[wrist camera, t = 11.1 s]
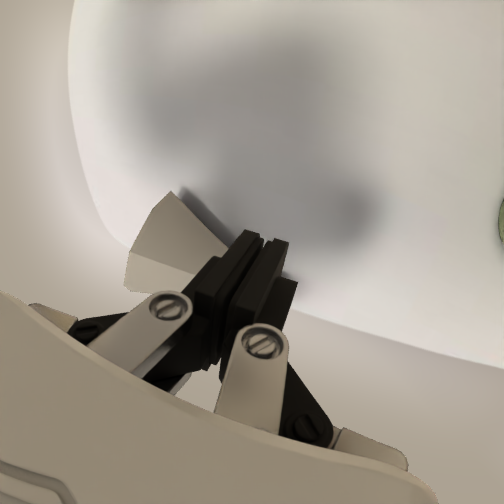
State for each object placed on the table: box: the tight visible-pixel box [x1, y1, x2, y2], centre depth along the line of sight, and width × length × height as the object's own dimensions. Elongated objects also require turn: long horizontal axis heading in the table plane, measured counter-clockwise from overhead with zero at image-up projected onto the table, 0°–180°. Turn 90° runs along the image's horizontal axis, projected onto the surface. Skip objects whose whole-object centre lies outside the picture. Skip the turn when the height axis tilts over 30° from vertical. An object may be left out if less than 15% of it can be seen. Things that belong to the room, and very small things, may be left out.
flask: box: [124, 191, 229, 294], centre depth 19 cm, size 7×7×10 cm
